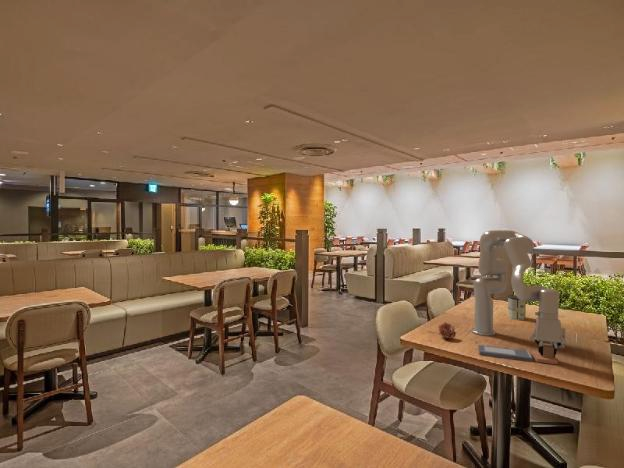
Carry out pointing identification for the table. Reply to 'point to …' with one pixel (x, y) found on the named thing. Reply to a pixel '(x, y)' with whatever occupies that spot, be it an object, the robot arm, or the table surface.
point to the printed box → (564, 339)
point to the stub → (546, 354)
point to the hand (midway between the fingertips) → (547, 354)
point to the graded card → (576, 336)
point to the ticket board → (505, 353)
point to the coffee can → (516, 308)
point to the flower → (447, 330)
